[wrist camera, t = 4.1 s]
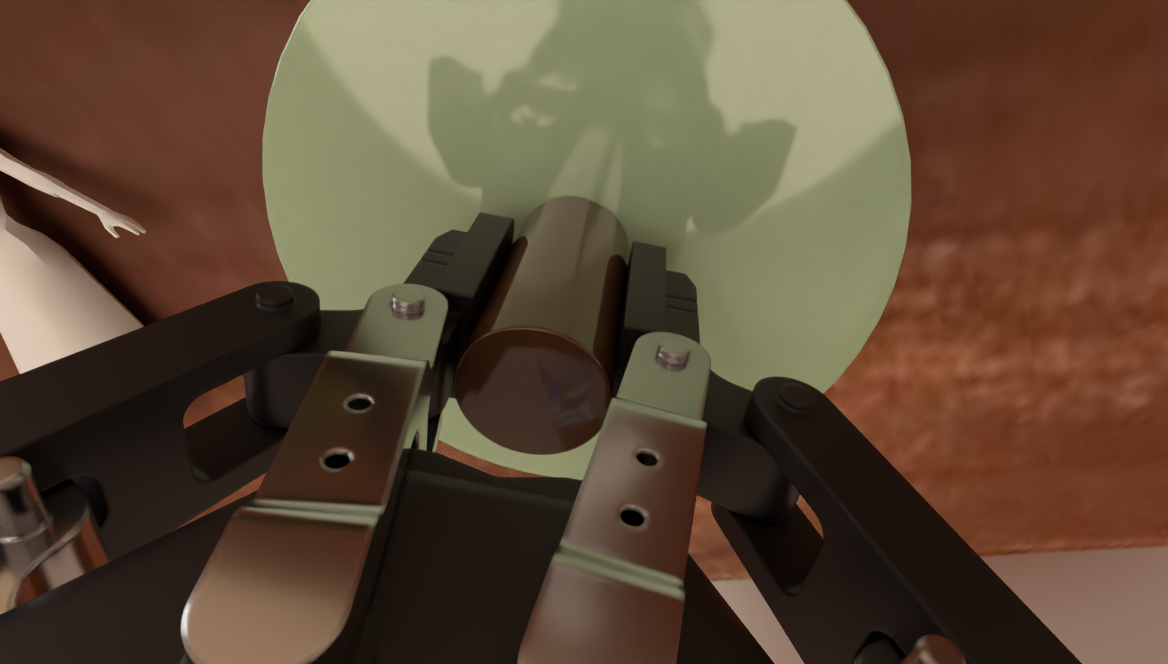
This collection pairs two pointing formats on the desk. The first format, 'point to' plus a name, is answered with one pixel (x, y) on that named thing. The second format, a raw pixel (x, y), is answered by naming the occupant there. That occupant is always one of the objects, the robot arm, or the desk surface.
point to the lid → (595, 186)
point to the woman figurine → (53, 283)
